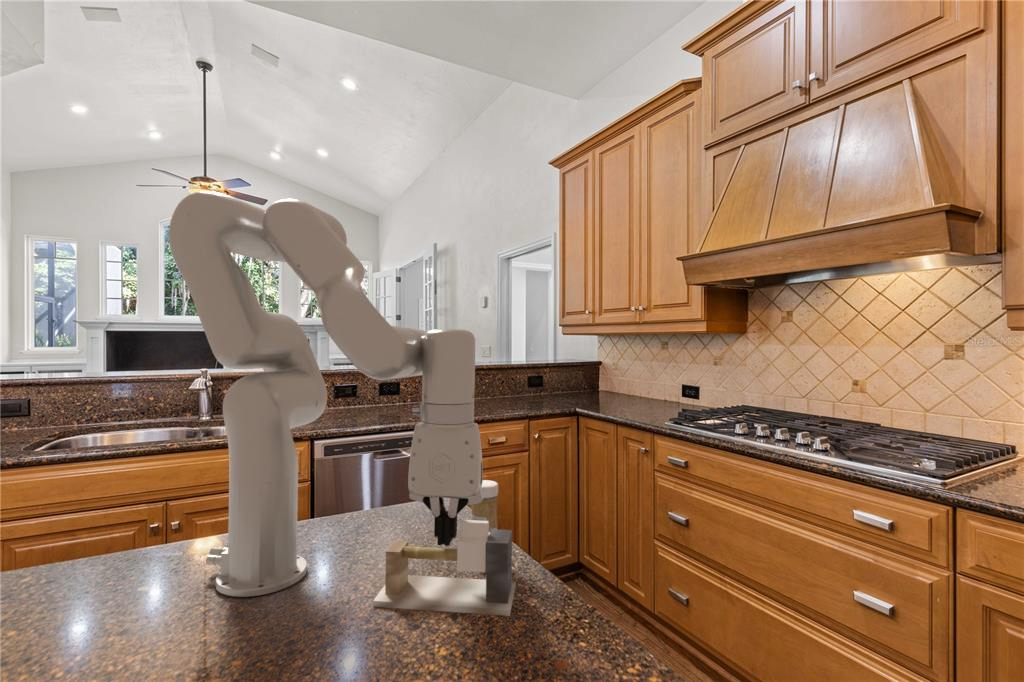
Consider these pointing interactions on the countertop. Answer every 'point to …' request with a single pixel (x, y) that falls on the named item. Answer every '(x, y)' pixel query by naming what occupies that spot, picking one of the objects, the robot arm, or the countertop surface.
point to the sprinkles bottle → (487, 505)
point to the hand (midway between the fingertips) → (445, 541)
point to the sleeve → (472, 545)
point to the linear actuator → (450, 580)
